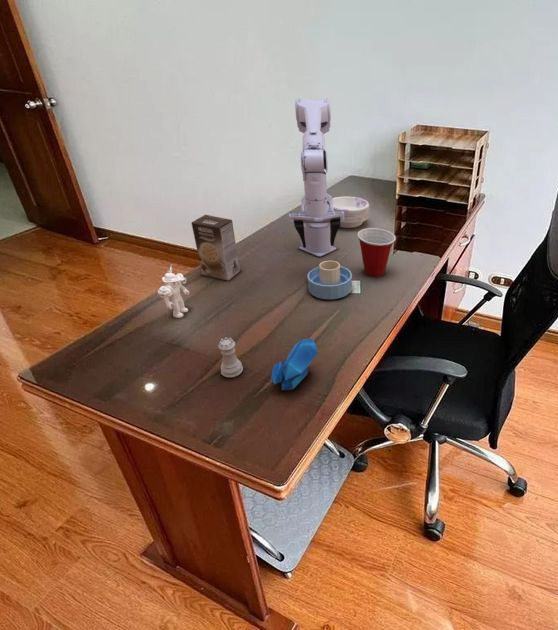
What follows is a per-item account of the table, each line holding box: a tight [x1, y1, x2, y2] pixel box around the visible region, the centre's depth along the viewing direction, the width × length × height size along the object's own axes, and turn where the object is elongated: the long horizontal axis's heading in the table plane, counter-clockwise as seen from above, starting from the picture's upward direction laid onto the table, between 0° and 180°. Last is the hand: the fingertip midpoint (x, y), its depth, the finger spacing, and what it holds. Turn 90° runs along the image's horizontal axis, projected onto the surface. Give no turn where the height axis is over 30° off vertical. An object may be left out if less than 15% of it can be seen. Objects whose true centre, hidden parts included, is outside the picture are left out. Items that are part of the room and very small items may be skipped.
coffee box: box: [191, 214, 241, 281], centre depth 122 cm, size 9×6×16 cm
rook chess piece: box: [217, 336, 244, 379], centre depth 89 cm, size 4×4×8 cm
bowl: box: [306, 265, 353, 300], centre depth 119 cm, size 12×12×4 cm
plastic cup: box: [357, 227, 396, 278], centre depth 126 cm, size 11×11×12 cm
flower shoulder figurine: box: [157, 264, 190, 319], centre depth 105 cm, size 9×4×12 cm, turn 169°
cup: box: [318, 260, 341, 285], centre depth 118 cm, size 6×6×7 cm
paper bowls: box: [332, 195, 370, 229], centre depth 158 cm, size 15×15×8 cm
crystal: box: [270, 338, 319, 391], centre depth 87 cm, size 7×9×12 cm
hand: (318, 245), depth 122 cm, fingers open, 7 cm apart
